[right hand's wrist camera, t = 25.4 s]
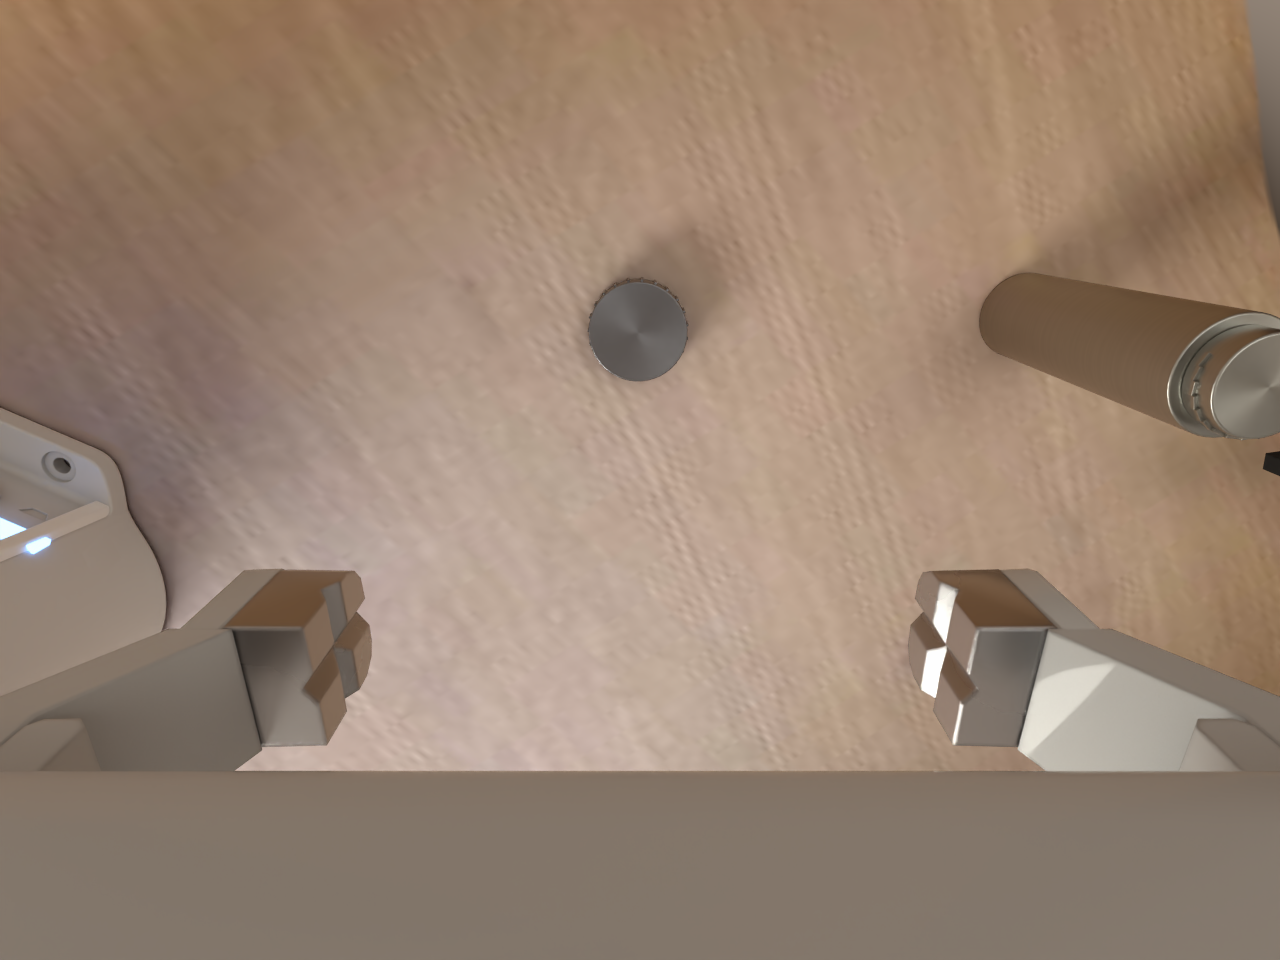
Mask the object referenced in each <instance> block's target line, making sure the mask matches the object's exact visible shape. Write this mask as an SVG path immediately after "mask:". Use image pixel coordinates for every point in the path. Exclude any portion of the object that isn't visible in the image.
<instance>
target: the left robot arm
mask: <svg viewBox="0 0 1280 960" xmlns="http://www.w3.org/2000/svg"><path fill="white" fill-rule="evenodd" d="M1263 469H1264V470H1267V471H1269V472H1271V473H1274V474H1276V475H1279V476H1280V451H1279V452H1272V453H1266V456H1265V461H1264V466H1263Z"/></svg>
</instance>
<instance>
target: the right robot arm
mask: <svg viewBox="0 0 1280 960" xmlns="http://www.w3.org/2000/svg"><path fill="white" fill-rule="evenodd" d="M64 459H65V460H67V461H68V462H69V464H70V466H71V467H69V466H68V465H67V464H66V463H65V461H64ZM364 599H365V596H364V592H363V587H362V582H361V578H360V577H359V576H358V574H357V573H356V572H355V571H335V570H284V569H259V570H245V571H243V572H242V573H241V574H240V575H239V576H238V577H237V578H235V579H234V580H233V581H232V582H231V583H230V584H229V585H228V586H227V587H226V588H224V589H223V590H222V591H221V592H220V593H219V594H218V595H217V596H216V597H215V598H213V599H212V600H211V601H210V602H209V603H208V604H207V605H206V606H205V607H204V608H202V609H201V610H200V611H199V612H198V613H197V614H196V615H195V616H194V617H193V618H192V619H190V620H189V621H188V622H187V623H186V624H185V625H184V626H183V627H182V628H181V629H167V630H165V631H162V628H163V625H164V621H165V615H166V591H165V585H164V580H163V576H162V573H161V570H160V567H159V565H158V562H157V560H156V558H155V556H154V554H153V552H152V550H151V548H150V546H149V544H148V543H147V541H146V540H145V538H144V537H143V535H142V533H141V532H140V530H139V529H138V527H137V526H136V524H135V522H134V521H133V519H132V517H131V515H130V513H129V511H128V507H127V501H126V496H125V491H124V486H123V482H122V478H121V475H120V472H119V469H118V467H117V465H116V464H115V462H114V461H113V460H112V459H111V458H110V457H109V456H108V455H107V454H106V453H104V452H102V451H100V450H99V449H96V448H94V447H92V446H89V445H87V444H85V443H82V442H80V441H78V440H75V439H73V438H71V437H68V436H66V435H64V434H61V433H59V432H56V431H54V430H52V429H49V428H47V427H45V426H42V425H40V424H38V423H35V422H33V421H31V420H28V419H26V418H24V417H21V416H19V415H17V414H14V413H12V412H10V411H7V410H5V409H3V408H0V960H1280V697H1279V696H1277V695H1274V694H1272V693H1269V692H1267V691H1264V690H1262V689H1259V688H1257V687H1254V686H1252V685H1249V684H1247V683H1244V682H1242V681H1239V680H1237V679H1234V678H1232V677H1229V676H1227V675H1224V674H1222V673H1220V672H1217V671H1215V670H1212V669H1210V668H1207V667H1205V666H1202V665H1200V664H1197V663H1195V662H1192V661H1190V660H1187V659H1185V658H1182V657H1180V656H1177V655H1175V654H1172V653H1170V652H1167V651H1165V650H1162V649H1160V648H1157V647H1155V646H1153V645H1150V644H1148V643H1145V642H1143V641H1140V640H1138V639H1135V638H1133V637H1130V636H1128V635H1125V634H1123V633H1120V632H1118V631H1115V630H1113V629H1100V628H1098V627H1097V626H1096V625H1095V624H1094V623H1093V622H1092V621H1091V620H1090V619H1089V618H1087V617H1086V616H1085V615H1084V614H1083V613H1082V612H1081V611H1080V610H1079V609H1078V608H1077V607H1075V606H1074V605H1073V604H1072V603H1071V602H1070V601H1069V600H1068V599H1067V598H1066V597H1064V596H1063V595H1062V594H1061V593H1060V592H1059V591H1058V590H1057V589H1056V588H1055V587H1054V586H1052V585H1051V584H1050V583H1049V582H1048V581H1047V580H1046V579H1045V578H1044V577H1043V576H1041V575H1040V574H1039V573H1038V572H1037V571H1034V570H1030V569H1009V570H999V569H996V570H954V571H929V572H923V573H922V575H921V577H920V579H919V582H918V585H917V591H916V596H915V599H916V601H917V602H918V604H919V605H920V607H921V608H922V610H923V611H924V612H923V613H922V614H921V615H920V616H919V617H918V618H917V619H916V620H915V621H914V622H913V623H912V624H911V626H910V634H909V641H908V651H909V662H910V666H911V670H912V673H913V676H914V678H915V680H916V682H917V684H918V686H919V687H920V689H921V690H922V691H924V692H926V693H927V694H929V695H930V696H932V697H934V698H935V703H934V709H933V712H934V713H935V715H936V717H937V719H938V720H939V722H940V724H941V725H942V727H943V729H944V730H945V732H946V734H947V736H948V737H949V739H950V741H951V742H952V744H953V745H961V746H998V747H1018V750H1019V751H1020V752H1021V753H1023V754H1024V755H1025V756H1027V757H1028V758H1029V759H1031V760H1032V761H1033V762H1035V763H1036V764H1037V765H1039V766H1040V767H1042V768H1043V769H1044V770H1046V771H235V770H236V769H237V768H239V767H240V766H241V765H243V764H244V763H245V762H247V761H248V760H249V759H251V758H252V757H254V756H255V755H256V754H258V753H259V752H260V751H262V747H282V746H317V745H327V744H328V742H329V741H330V739H331V737H332V736H333V734H334V732H335V730H336V729H337V727H338V725H339V724H340V722H341V720H342V719H343V717H344V715H345V713H346V712H347V709H346V703H345V698H346V697H348V696H350V695H351V694H353V693H354V692H356V691H358V690H359V689H360V687H361V686H362V684H363V682H364V680H365V678H366V676H367V673H368V669H369V665H370V660H371V656H372V639H371V632H370V626H369V624H368V623H367V622H366V621H365V620H364V619H363V618H362V617H361V616H360V615H359V614H358V613H357V612H356V611H357V610H358V608H359V607H360V605H361V604H362V602H363V601H364ZM161 631H162V632H161Z"/></svg>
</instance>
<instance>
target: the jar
mask: <svg viewBox="0 0 1280 960" xmlns="http://www.w3.org/2000/svg"><path fill="white" fill-rule="evenodd" d="M979 322H980V332H981V335H982V337H983V340H984V341H985V343H986V344H987V345H988V346H989V347H990V348H991V349H992V350H993V351H995V352H997V353H999V354H1001V355H1003V356H1006V357H1008V358H1011V359H1013V360H1016V361H1018V362H1020V363H1023V364H1025V365H1028V366H1030V367H1032V368H1035V369H1037V370H1040V371H1042V372H1045V373H1047V374H1049V375H1052V376H1054V377H1057V378H1059V379H1061V380H1064V381H1066V382H1069V383H1071V384H1074V385H1076V386H1078V387H1081V388H1083V389H1086V390H1088V391H1091V392H1093V393H1095V394H1098V395H1100V396H1103V397H1105V398H1107V399H1110V400H1112V401H1115V402H1117V403H1120V404H1122V405H1124V406H1127V407H1129V408H1132V409H1134V410H1137V411H1139V412H1141V413H1144V414H1146V415H1149V416H1151V417H1153V418H1156V419H1158V420H1161V421H1163V422H1166V423H1168V424H1170V425H1173V426H1175V427H1178V428H1180V429H1183V430H1185V431H1187V432H1190V433H1192V434H1195V435H1198V436H1203V437H1212V438H1214V437H1226V438H1232V439H1240V440H1246V439H1260V438H1264V437H1268V436H1271V435H1274V434H1277V433H1279V432H1280V318H1278V317H1276V316H1273V315H1271V314H1267V313H1263V312H1257V311H1251V310H1245V309H1240V308H1234V307H1228V306H1222V305H1216V304H1211V303H1205V302H1199V301H1193V300H1187V299H1182V298H1176V297H1170V296H1164V295H1158V294H1153V293H1147V292H1141V291H1135V290H1129V289H1124V288H1118V287H1112V286H1106V285H1100V284H1095V283H1089V282H1083V281H1077V280H1071V279H1066V278H1060V277H1054V276H1048V275H1042V274H1037V273H1023V274H1018V275H1015V276H1012V277H1010V278H1008V279H1006V280H1005V281H1003V282H1002V283H1000V284H999V285H998V286H997V287H996V288H995V289H993V291H992V292H991V293H990V294H989V296H988V297H987V299H986V300H985V302H984V304H983V307H982V310H981V314H980V320H979Z"/></svg>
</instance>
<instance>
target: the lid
mask: <svg viewBox="0 0 1280 960" xmlns="http://www.w3.org/2000/svg"><path fill="white" fill-rule="evenodd" d="M594 305H595V308H594V310H593V313H591V314H590V317H589V318H590V323H589V328H588V332H589V339H590V346H591V347H592V350H593V352H594V355H595V357H596V358H597V360H598V361H599V362H600V364H601V365H602V366H603V367H604V368H605V369H606V370H608V371H609V372H610V373H612V374H613V375H615V376H617V377H620V378H622V379H625V380H629V381H646V380H651V379H654V378H657V377H659V376H661V375H663V374H664V373H666V372H667V371H669V370H670V369H671V368H672V367H673V366H674V365H675V364H676V363H677V361H678V360H679V358H680V357H681V355H682V353H683V352H684V348H685V345H686V340H688V337H687V326H688V323H687V321H686V319H685V315H684V313H685V310H684V308H681V306H680V304H679V302H678V297H677V296H674V295H673V294H672V293H671V292H670V291H669V289H668V287H667V286H666V288H665V287H664V286H662V285H660V284H658V283H657V282H656V280H654V282H653V281H650V280H645V279H643V277H641V279H631V280H630V278H627V280H626V281H623V282H620V283H618V284H617V282H616V283H615V284H614V286H613V287H611V288H610V289H609V290H607V291H606V290H605V291H604V292H603V295H602V296H601V298H600V299H599V301H596V302H595V304H594Z"/></svg>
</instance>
